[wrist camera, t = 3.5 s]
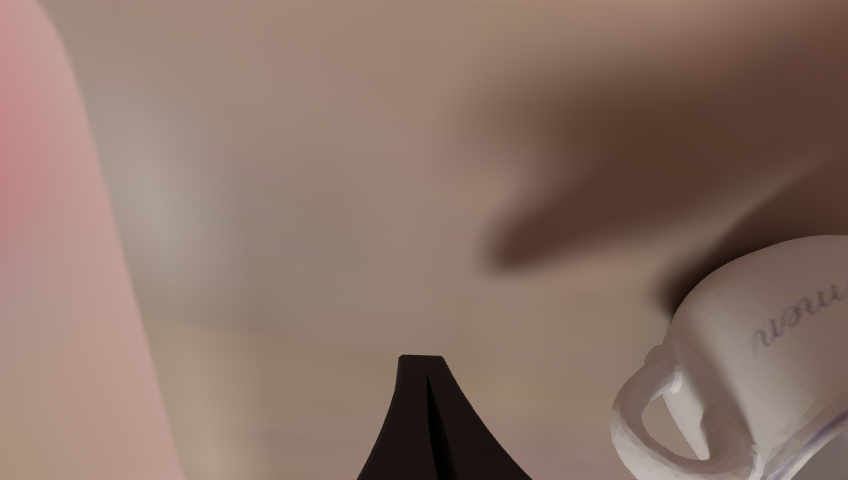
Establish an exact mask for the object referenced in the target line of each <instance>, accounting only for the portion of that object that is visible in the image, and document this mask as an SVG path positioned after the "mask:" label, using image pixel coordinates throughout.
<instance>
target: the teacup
mask: <svg viewBox="0 0 848 480" xmlns="http://www.w3.org/2000/svg"><path fill="white" fill-rule="evenodd" d="M661 394H663V397H664V400H665V403H666V405H667V407H668V409H669V411H670V414H671V415H672V417H673V419H674V420H675V422H676V424H677V426H678V427H679V429H680V431H681V432H682V434H683V435H684V437H685V438H686V440H687V441H688V443H689V444H690V446H691V447H692V449H693V450H694V452H695V453H696V454H697V456H698V457H699V459H700V460H693V459H687V458H684V457H681V456H678V455H676V454H674V453H672V452H671V451H669V450H668V449H666V448H665V447H663V446H661V445H660V444H659V443H657V442H656V441H655V440H654V439H653V438H652V437H651V436H650V435H649V434H648V433H647V431H646V430H645V428H644V426H643V423H642V419H641V414H642V412H643V410H644V408H645V407H646V406H647V405H648V404H649V403H650V402H651V401H652V400H653V399H655V398H656V397H658V396H659V395H661ZM610 431H611V436H612V441H613V443H614V446H615V448H616V450H617V452H618V454H619V456H620V458H621V460H622V461H623V463H624V464H625V466H626V467H627V468H628V469H629V470H630V471H631V473H632V474H633V475H634V476H635V477H636V478H637V479H638V480H848V235H818V236H810V237H803V238H797V239H792V240H788V241H784V242H781V243H778V244H775V245H772V246H769V247H766V248H763V249H760V250H758V251H756V252H752V253H749V254H747V255H744V256H742V257H739V258H737V259H735V260H733V261H731V262H729V263H727V264H725V265H723V266H722V267H720V268H718V269H717V270H715V271H713V272H712V273H710V274H709V275H708V276H707V277H705V278H704V279H703V280H702V281H701V282H700V283H699V284H697V285H696V286H695V287H694V288H693V289H692V290H691V291H690V293H689V294H688V295H687V296H686V298H685V299H684V300H683V302H682V303H681V305H680V306H679V308H678V309H677V311H676V313H675V315H674V317H673V319H672V322H671V324H670V327H669V329H668V331H667V333H666V335H665V338H664V341H663V344H662V345H659V346H655V347H654V348H653V349H651V350H650V352H649V353H648V354H647V356H646V358H645V363H644V366H643V367H642V368H641V369H640V370H639V371H637V372H636V373H635V374H634V375H633V376H632V377H631V378H630V379H628V380H627V382H626V383H625V384H624V386H623V387H622V388H621V389H620V391H619V392H618V394H617V396H616V398H615V401H614V404H613V407H612V411H611V418H610Z"/></svg>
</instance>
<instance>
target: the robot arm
mask: <svg viewBox="0 0 848 480" xmlns="http://www.w3.org/2000/svg"><path fill="white" fill-rule="evenodd" d="M357 480H532V479H531V478H530V477H529V476H528V475H527V474H526V473H525V472H524V471H523V470H522V469H521V468H520V467H519V465H518V464H517V463H516V462H515V461H514V460H513V459H512V458H511V457H510V456H509V454H508V453H507V452H506V451H505V450H504V449H503V448H502V446H501V445H500V444H499V443H498V441H497V440H496V439H495V438H494V436H493V435H492V434H491V433H490V431H489V430H488V429H487V427H486V426H485V425H484V423H483V422H482V421H481V419H480V418H479V416H478V415H477V413H476V412H475V410H474V409H473V407H472V406H471V404H470V403H469V401H468V400H467V398H466V397H465V395H464V394H463V392H462V390H461V389H460V387H459V385H458V384H457V382H456V380H455V378H454V377H453V375H452V373H451V371H450V369H449V367H448V366H447V364H446V362H445V360H444V358H443V357H442V356H427V355H402V356H400V357H399V359H398V368H397V377H396V385H395V391H394V394H393V398H392V401H391V404H390V407H389V410H388V413H387V416H386V418H385V421H384V424H383V426H382V429H381V431H380V434H379V436H378V438H377V440H376V443H375V445H374V447H373V449H372V451H371V453H370V455H369V457H368V459H367V461H366V463H365V465H364V467H363V469H362V471H361V473H360V475H359V476H358V478H357Z"/></svg>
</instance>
